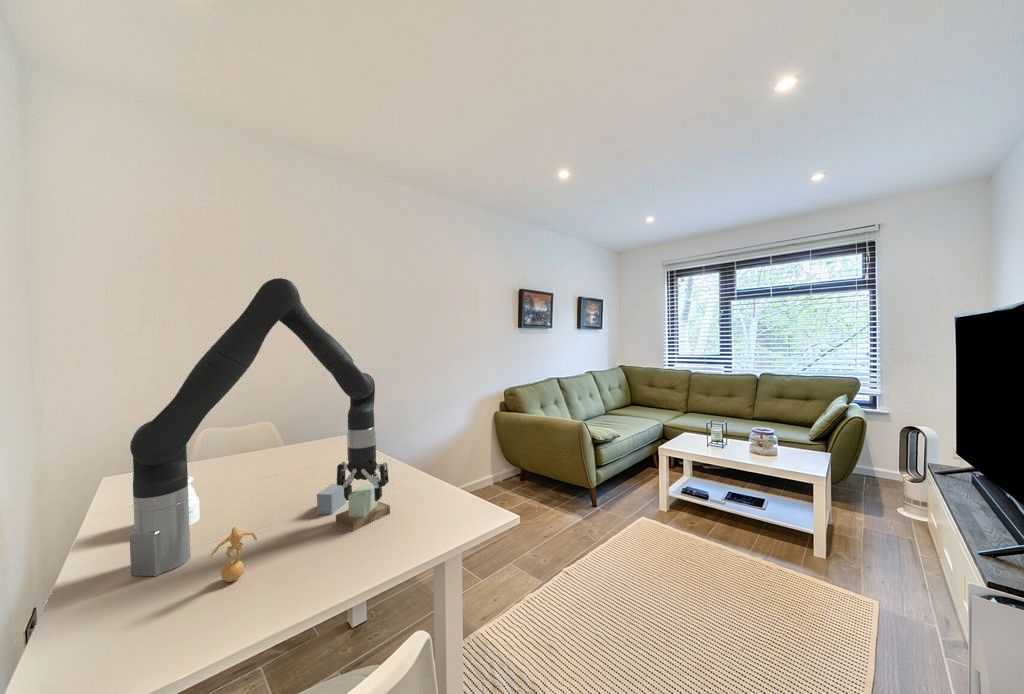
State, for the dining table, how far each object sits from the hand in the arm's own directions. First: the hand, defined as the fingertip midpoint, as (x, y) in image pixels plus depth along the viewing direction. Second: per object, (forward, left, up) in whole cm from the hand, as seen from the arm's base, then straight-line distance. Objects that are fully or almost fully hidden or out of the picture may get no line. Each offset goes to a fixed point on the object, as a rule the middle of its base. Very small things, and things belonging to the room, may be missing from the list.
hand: (363, 499), depth 107 cm
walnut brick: (0, 0, -6) cm, 6 cm away
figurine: (-29, +14, -6) cm, 33 cm away
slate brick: (+6, +13, -6) cm, 15 cm away
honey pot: (-6, +54, -6) cm, 55 cm away
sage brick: (0, 0, -3) cm, 3 cm away
